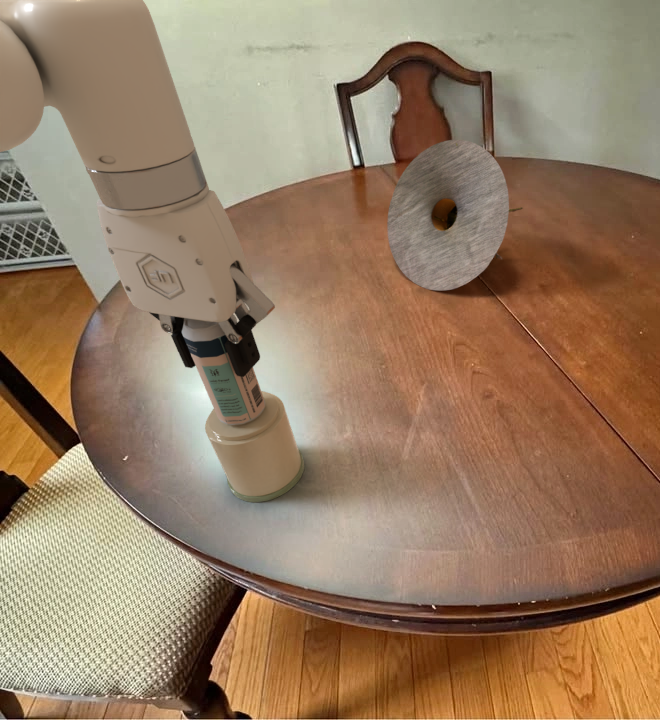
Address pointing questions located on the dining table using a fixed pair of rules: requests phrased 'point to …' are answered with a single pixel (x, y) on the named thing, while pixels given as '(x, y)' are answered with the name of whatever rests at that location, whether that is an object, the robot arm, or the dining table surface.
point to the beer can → (222, 373)
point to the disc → (448, 215)
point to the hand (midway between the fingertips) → (223, 361)
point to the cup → (258, 452)
